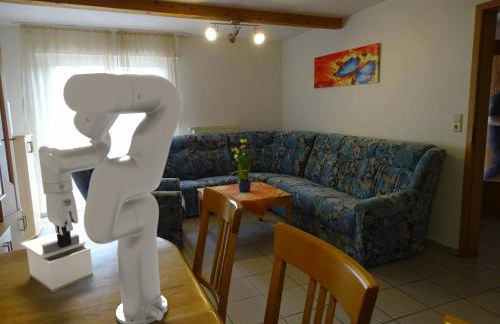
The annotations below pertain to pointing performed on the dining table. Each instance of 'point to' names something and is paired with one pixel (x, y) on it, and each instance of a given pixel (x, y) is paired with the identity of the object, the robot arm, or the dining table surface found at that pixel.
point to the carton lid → (50, 245)
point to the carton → (61, 267)
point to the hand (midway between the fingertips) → (64, 245)
